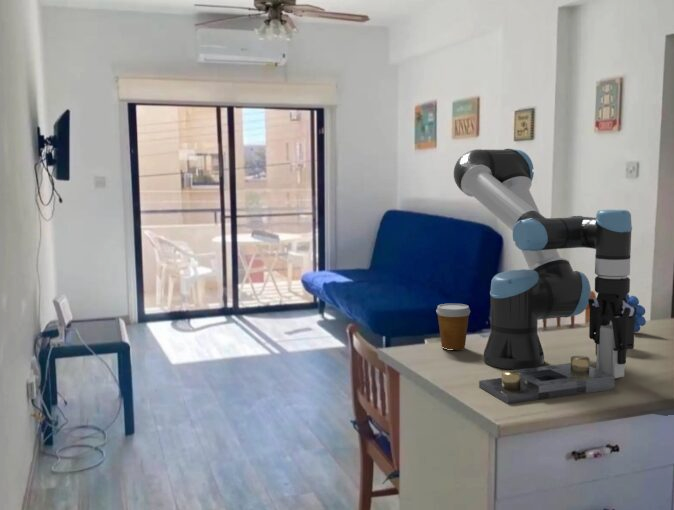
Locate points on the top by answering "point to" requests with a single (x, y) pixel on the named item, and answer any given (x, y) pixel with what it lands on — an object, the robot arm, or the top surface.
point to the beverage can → (606, 349)
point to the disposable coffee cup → (453, 325)
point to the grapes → (637, 312)
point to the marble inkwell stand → (549, 381)
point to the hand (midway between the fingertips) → (609, 373)
